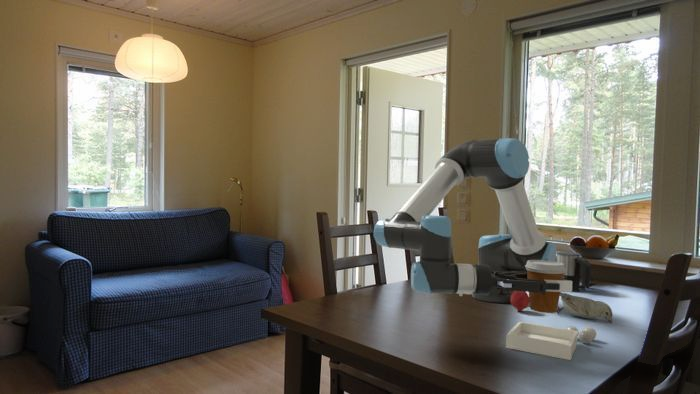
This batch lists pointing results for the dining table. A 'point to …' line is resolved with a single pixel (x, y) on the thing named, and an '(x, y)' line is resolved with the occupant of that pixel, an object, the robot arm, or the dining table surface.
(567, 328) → the pebble
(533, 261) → the disposable coffee cup
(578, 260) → the milk frother
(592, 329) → the pebble
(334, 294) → the dining table surface
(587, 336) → the pebble
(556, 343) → the dish
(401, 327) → the dining table surface
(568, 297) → the decorative bird
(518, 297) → the red round fruit
